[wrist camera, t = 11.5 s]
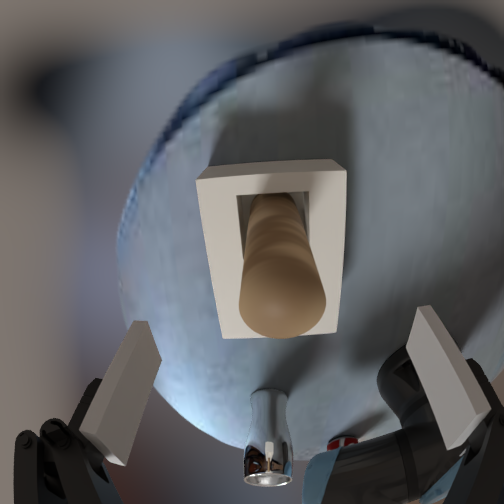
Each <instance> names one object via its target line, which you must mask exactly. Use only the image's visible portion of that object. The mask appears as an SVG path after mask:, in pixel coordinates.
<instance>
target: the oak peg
mask: <svg viewBox="0 0 504 504" xmlns="http://www.w3.org/2000/svg"><path fill="white" fill-rule="evenodd" d="M325 308H326V295H325V292H324V288H323V285H322V282H321V279H320V276H319V272H318V269H317V266H316V263H315V260H314V257H313V254H312V251H311V248H310V245H309V242H308V239H307V236H306V233H305V230H304V227H303V224H302V221H301V218H300V215H299V212H298V209H297V207H296V204H295V201H294V199H293V198H292V196H291V195H290V194H288V193H287V192H281V193H264V194H257V195H256V196H255V197H254V199H253V201H252V203H251V206H250V214H249V222H248V230H247V238H246V247H245V255H244V263H243V271H242V279H241V288H240V296H239V312H240V315H241V318H242V319H243V321H244V322H245V324H246V325H247V326H248V327H249V328H250V329H252V330H253V331H254V332H256V333H258V334H260V335H262V336H265V337H269V338H276V339H285V338H292V337H296V336H299V335H301V334H304V333H305V332H307V331H309V330H310V329H312V328H313V327H314V326H315V325H316V324H317V323H318V322H319V321H320V319H321V318H322V316H323V314H324V311H325Z"/></svg>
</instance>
